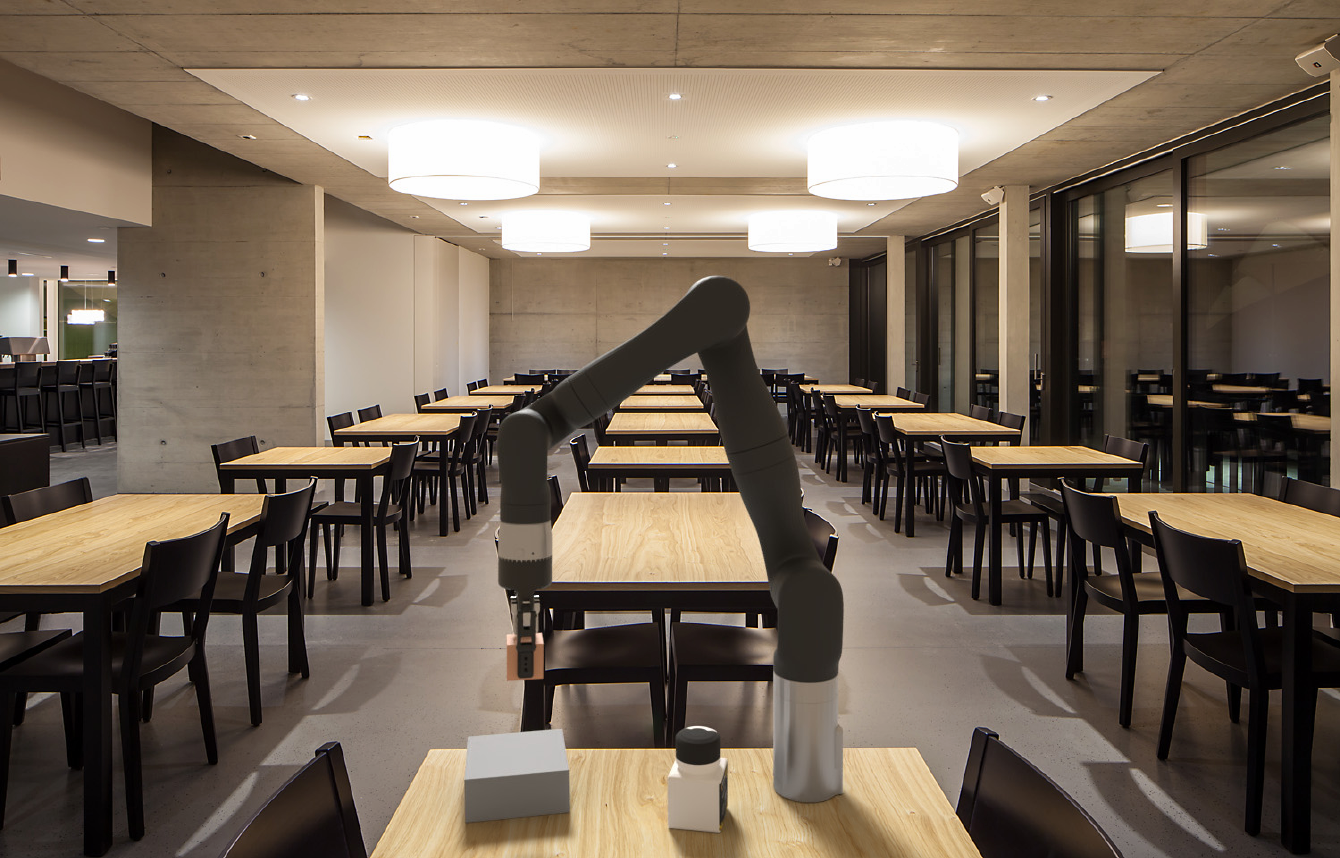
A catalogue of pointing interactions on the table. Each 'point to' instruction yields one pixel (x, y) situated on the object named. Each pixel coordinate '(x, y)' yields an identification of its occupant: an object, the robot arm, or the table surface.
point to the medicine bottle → (698, 782)
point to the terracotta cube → (513, 654)
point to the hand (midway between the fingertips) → (524, 670)
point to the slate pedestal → (516, 775)
